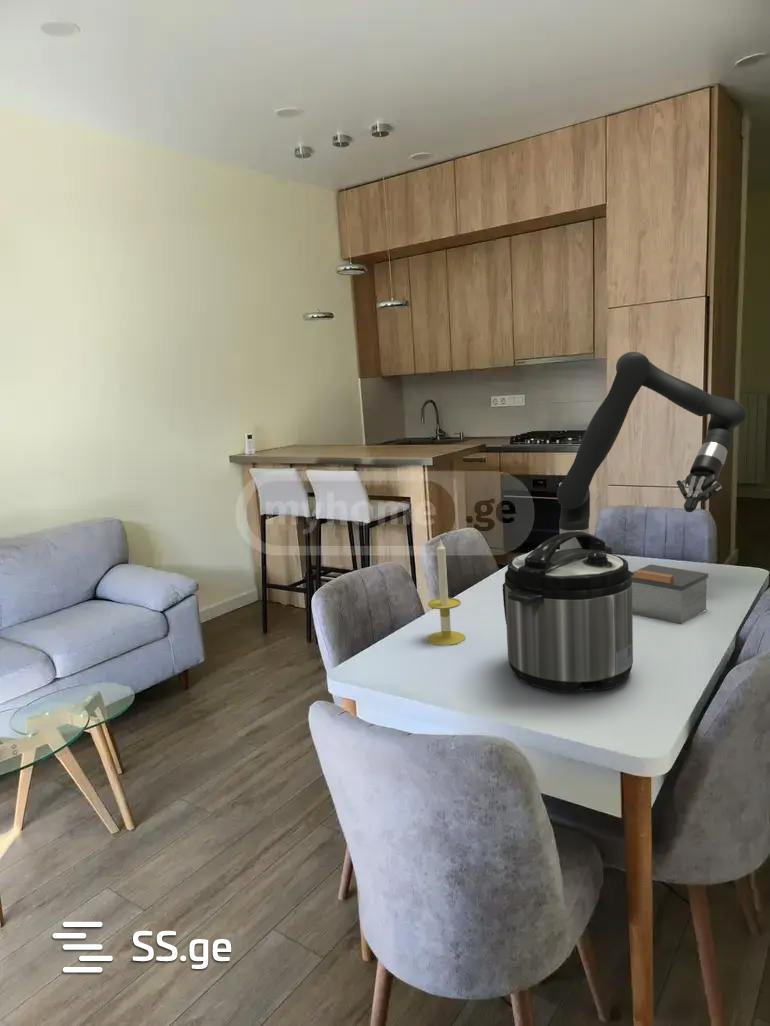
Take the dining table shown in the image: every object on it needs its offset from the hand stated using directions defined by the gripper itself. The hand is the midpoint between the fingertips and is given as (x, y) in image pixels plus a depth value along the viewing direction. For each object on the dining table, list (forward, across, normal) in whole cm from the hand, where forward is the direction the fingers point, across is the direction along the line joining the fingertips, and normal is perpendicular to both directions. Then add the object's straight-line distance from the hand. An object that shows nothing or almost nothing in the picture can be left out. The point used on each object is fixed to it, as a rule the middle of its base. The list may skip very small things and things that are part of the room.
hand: (688, 510), depth 188 cm
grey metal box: (+27, 0, +9) cm, 29 cm away
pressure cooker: (+63, +4, -26) cm, 68 cm away
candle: (+65, -31, -29) cm, 78 cm away
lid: (+21, 0, +3) cm, 21 cm away
